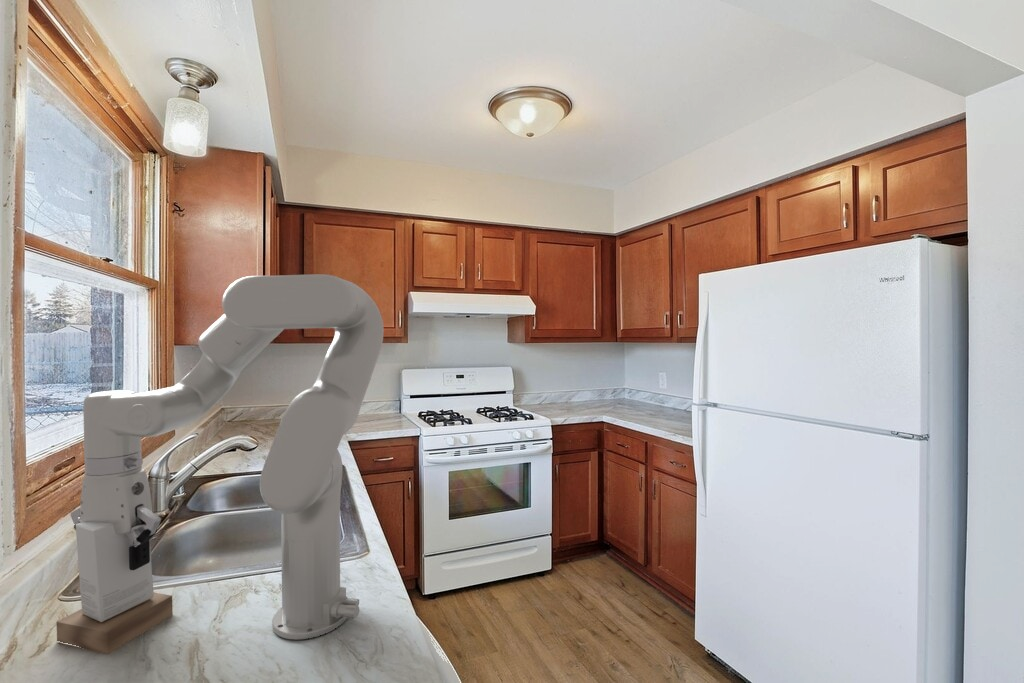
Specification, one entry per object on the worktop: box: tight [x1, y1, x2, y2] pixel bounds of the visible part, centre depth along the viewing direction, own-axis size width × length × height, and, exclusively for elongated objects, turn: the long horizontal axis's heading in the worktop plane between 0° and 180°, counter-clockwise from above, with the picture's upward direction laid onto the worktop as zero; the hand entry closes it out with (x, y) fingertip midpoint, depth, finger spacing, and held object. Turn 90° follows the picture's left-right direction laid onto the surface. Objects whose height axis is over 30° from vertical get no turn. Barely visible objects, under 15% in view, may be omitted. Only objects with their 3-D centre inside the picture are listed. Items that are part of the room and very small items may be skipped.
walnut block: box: [56, 592, 174, 655], centre depth 84 cm, size 11×11×4 cm
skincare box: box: [74, 521, 155, 622], centre depth 84 cm, size 8×7×16 cm
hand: (116, 563), depth 84 cm, fingers open, 9 cm apart
